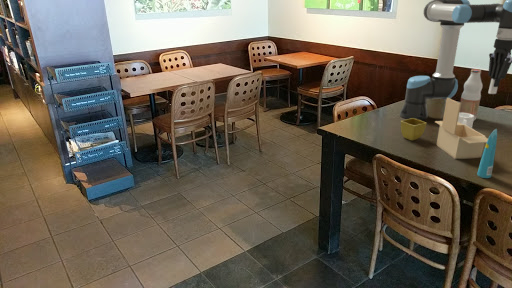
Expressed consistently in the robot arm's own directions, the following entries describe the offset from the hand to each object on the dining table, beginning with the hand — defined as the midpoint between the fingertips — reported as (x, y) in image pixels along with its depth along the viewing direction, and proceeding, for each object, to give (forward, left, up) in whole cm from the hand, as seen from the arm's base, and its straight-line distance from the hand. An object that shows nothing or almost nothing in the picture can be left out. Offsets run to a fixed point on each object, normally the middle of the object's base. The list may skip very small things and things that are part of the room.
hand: (491, 93), depth 167 cm
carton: (-9, -9, -26) cm, 29 cm away
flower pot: (-30, 0, -27) cm, 40 cm away
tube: (0, -32, -27) cm, 41 cm away
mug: (-7, +16, -27) cm, 32 cm away
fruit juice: (-4, +45, -27) cm, 53 cm away
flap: (-15, -12, -16) cm, 25 cm away
